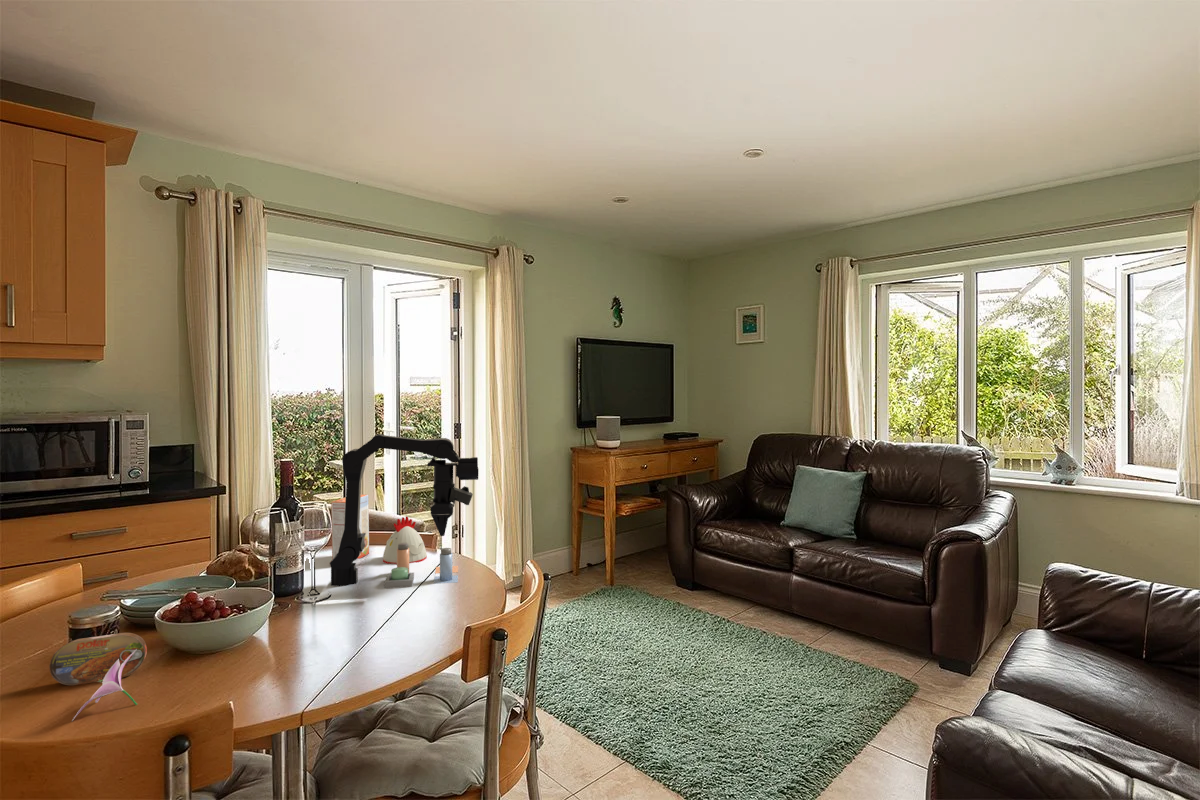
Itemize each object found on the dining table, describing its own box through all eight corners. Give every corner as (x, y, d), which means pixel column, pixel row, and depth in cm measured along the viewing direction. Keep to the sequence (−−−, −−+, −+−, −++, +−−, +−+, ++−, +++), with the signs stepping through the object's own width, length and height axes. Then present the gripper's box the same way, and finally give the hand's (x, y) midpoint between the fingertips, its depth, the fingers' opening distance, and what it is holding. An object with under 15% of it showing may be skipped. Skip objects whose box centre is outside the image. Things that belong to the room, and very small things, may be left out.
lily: (136, 690, 118) (104, 652, 116) (178, 675, 115) (147, 635, 113) (77, 743, 107) (41, 702, 105) (122, 728, 104) (86, 685, 102)
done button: (390, 582, 174) (390, 572, 174) (392, 577, 179) (392, 567, 179) (407, 581, 175) (407, 571, 175) (408, 576, 180) (408, 566, 180)
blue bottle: (439, 581, 179) (439, 551, 179) (439, 577, 182) (440, 547, 182) (452, 580, 180) (452, 550, 179) (452, 577, 183) (452, 547, 183)
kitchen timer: (374, 563, 202) (374, 517, 201) (408, 553, 213) (408, 511, 213) (400, 570, 194) (401, 523, 193) (435, 560, 205) (435, 516, 205)
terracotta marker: (396, 575, 185) (396, 546, 185) (397, 572, 188) (397, 543, 188) (408, 575, 186) (408, 545, 185) (409, 571, 189) (409, 542, 189)
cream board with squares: (383, 592, 173) (383, 581, 173) (391, 572, 191) (391, 562, 191) (463, 587, 177) (463, 577, 177) (463, 568, 196) (463, 559, 196)
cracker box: (353, 553, 213) (353, 493, 212) (369, 554, 212) (369, 494, 211) (330, 565, 199) (330, 500, 198) (347, 565, 198) (347, 501, 197)
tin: (48, 689, 117) (48, 645, 116) (55, 682, 119) (55, 639, 119) (144, 675, 123) (144, 633, 122) (148, 668, 125) (148, 627, 125)
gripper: (470, 484, 176) (470, 538, 176) (471, 475, 194) (471, 524, 194) (430, 485, 173) (430, 540, 174) (435, 476, 192) (434, 525, 192)
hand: (443, 532), depth 183 cm, fingers open, 9 cm apart
